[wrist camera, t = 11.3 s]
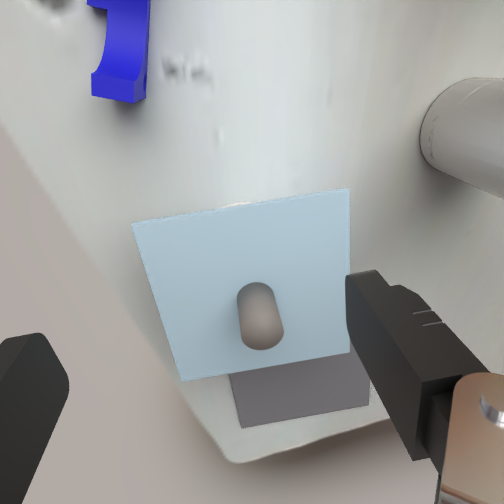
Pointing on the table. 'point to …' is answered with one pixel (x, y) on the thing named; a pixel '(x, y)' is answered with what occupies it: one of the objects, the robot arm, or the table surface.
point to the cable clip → (123, 51)
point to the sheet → (251, 282)
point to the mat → (300, 389)
